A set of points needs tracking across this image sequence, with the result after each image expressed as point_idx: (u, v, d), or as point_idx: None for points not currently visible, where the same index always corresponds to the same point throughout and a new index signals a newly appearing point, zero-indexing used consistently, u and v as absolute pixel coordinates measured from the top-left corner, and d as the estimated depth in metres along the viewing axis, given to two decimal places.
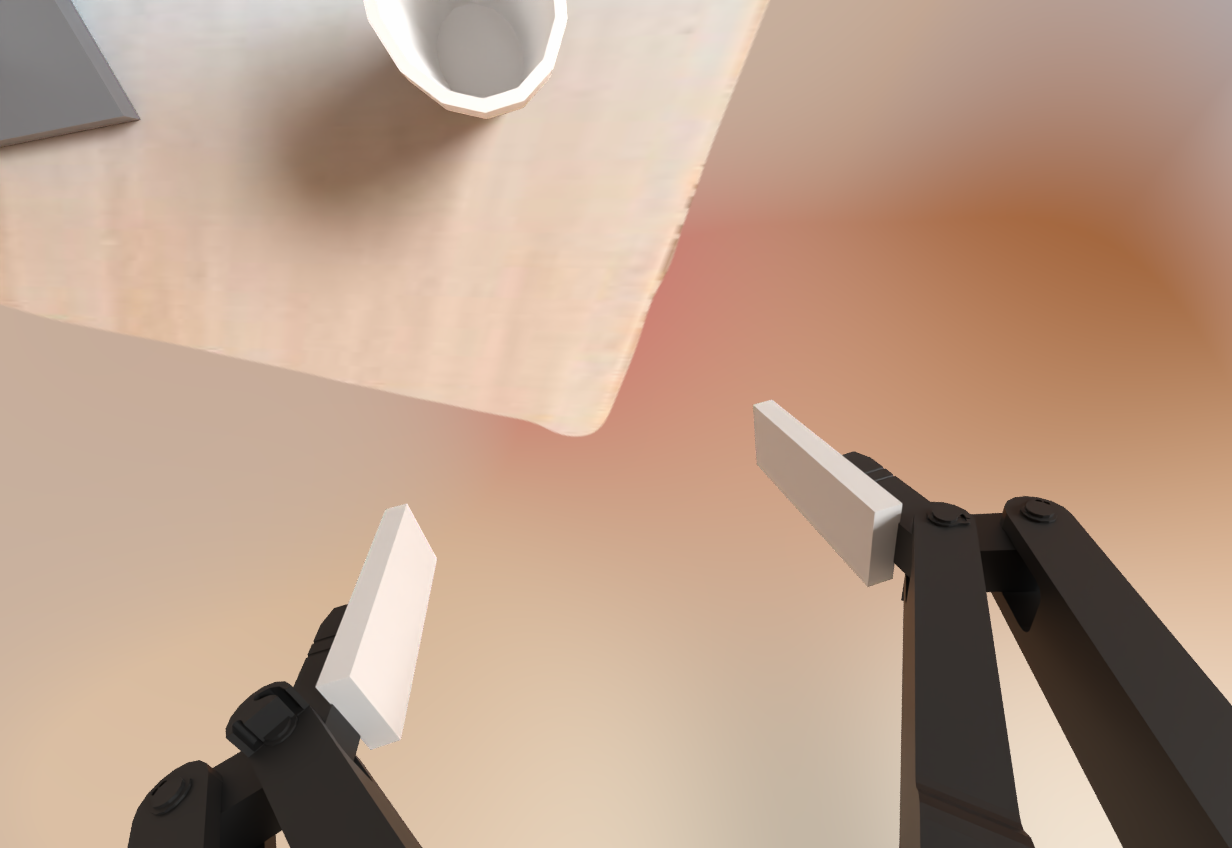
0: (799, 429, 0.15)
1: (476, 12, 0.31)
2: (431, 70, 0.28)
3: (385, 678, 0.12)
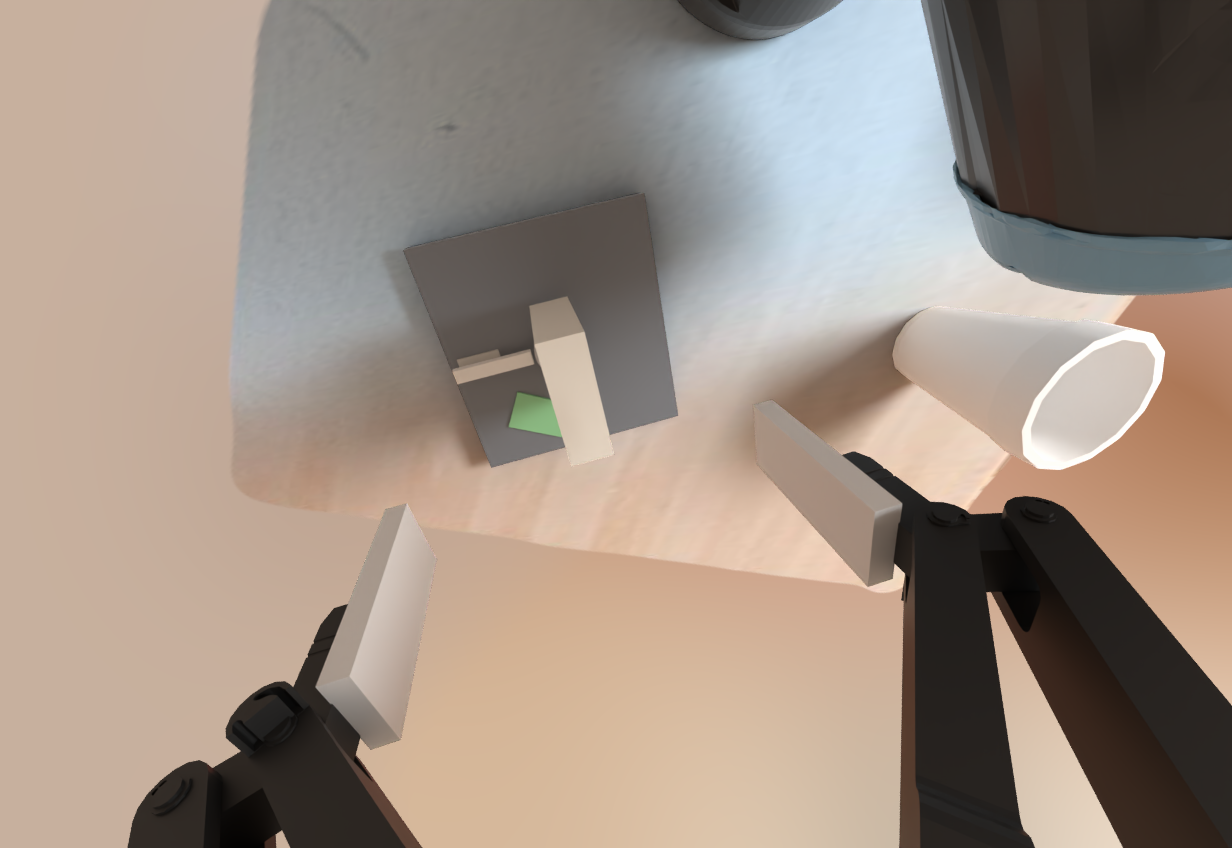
0: (799, 429, 0.15)
1: None
2: None
3: (385, 678, 0.12)
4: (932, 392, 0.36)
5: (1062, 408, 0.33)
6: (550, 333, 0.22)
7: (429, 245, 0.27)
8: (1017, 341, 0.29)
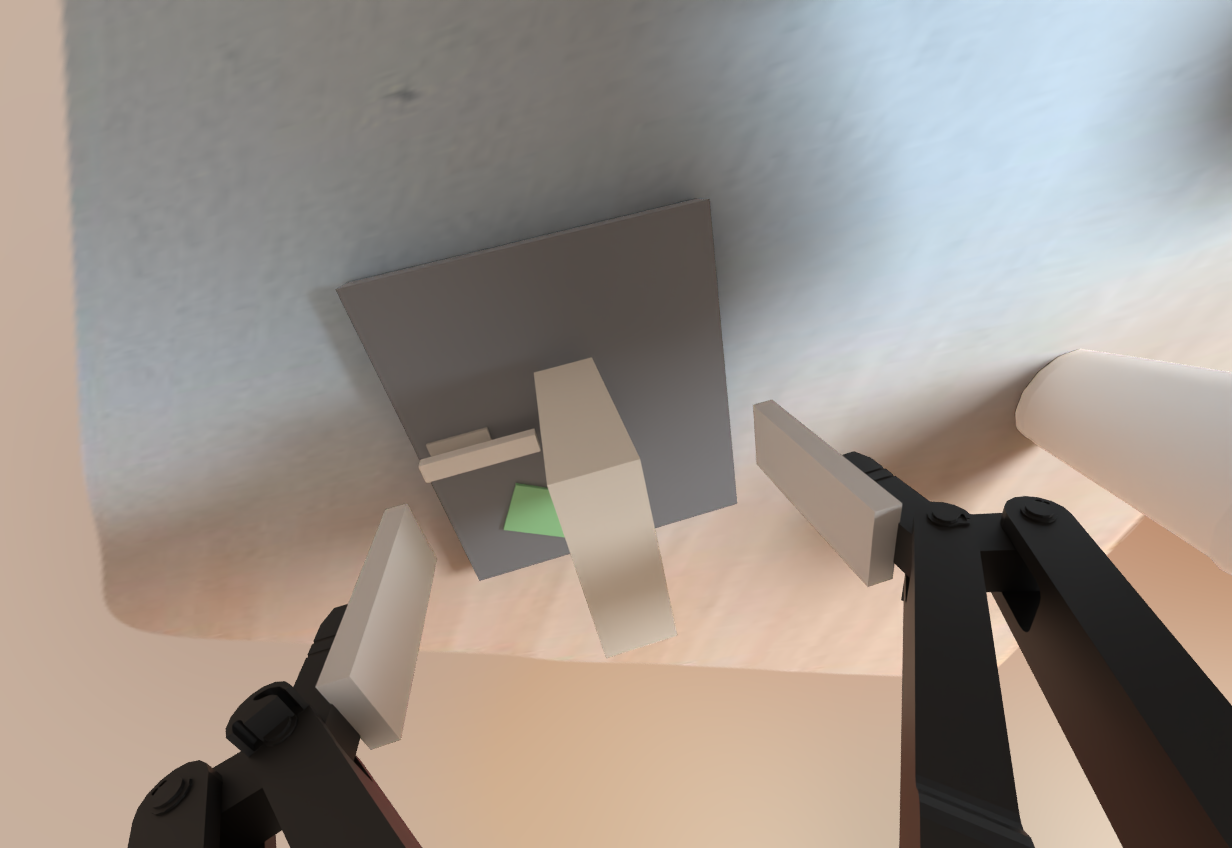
0: (799, 429, 0.15)
1: None
2: None
3: (385, 678, 0.12)
4: (1087, 471, 0.26)
5: None
6: (574, 452, 0.12)
7: (377, 281, 0.17)
8: None
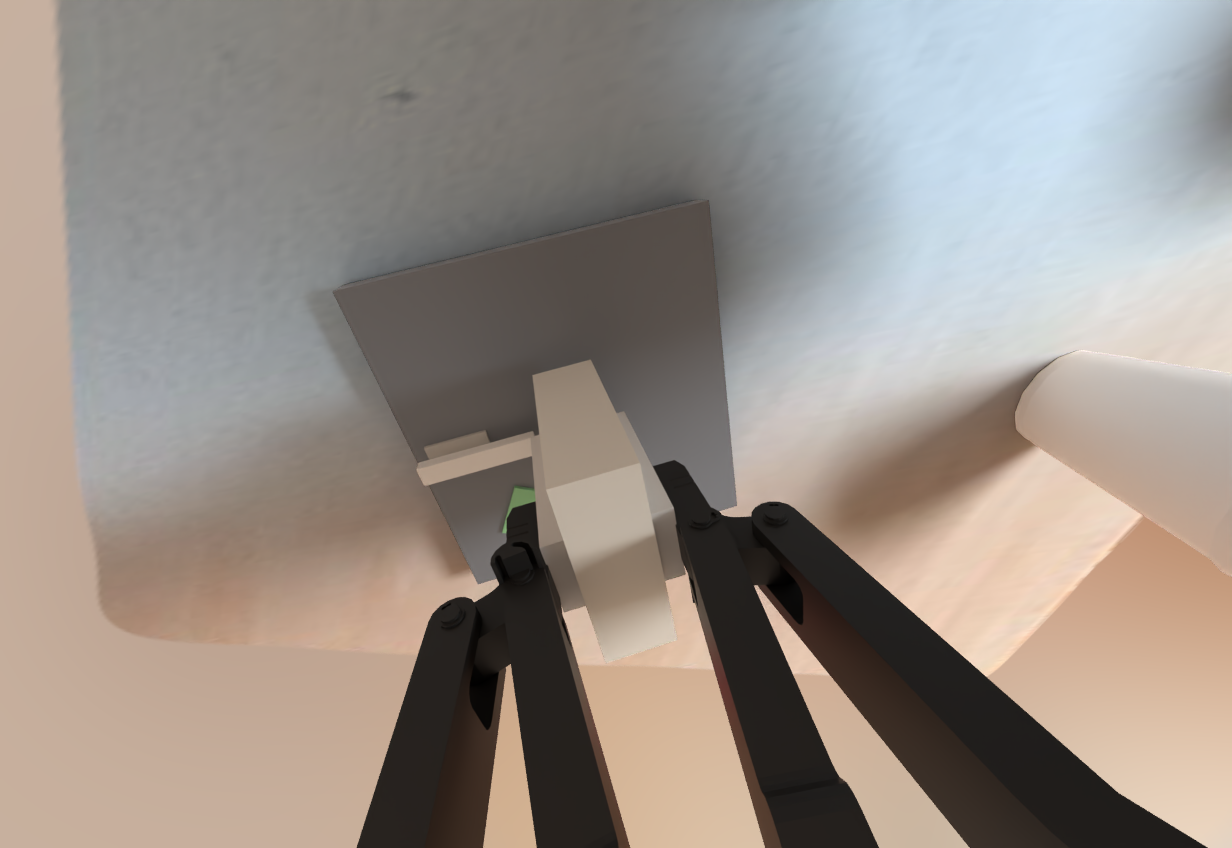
0: (631, 439, 0.17)
1: None
2: None
3: None
4: (1087, 472, 0.26)
5: None
6: (574, 456, 0.12)
7: (374, 283, 0.17)
8: None
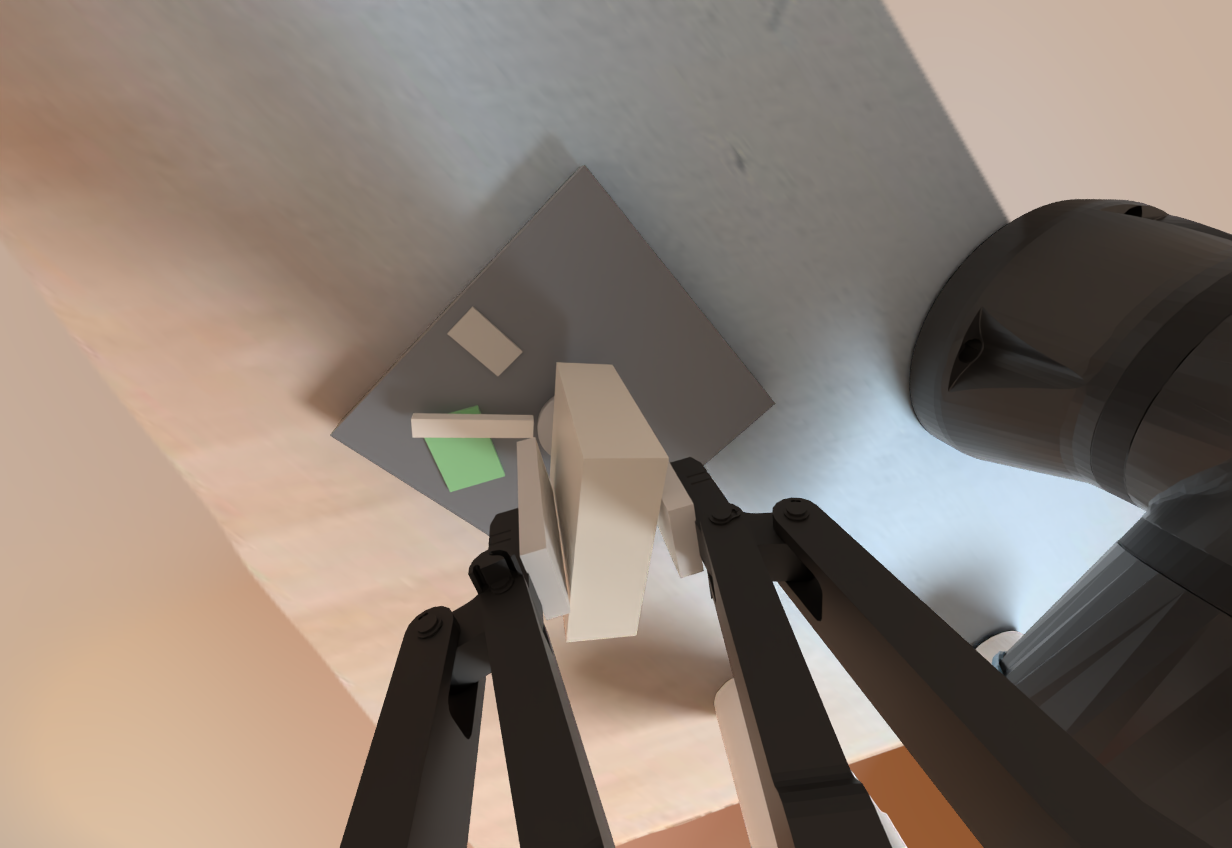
0: None
1: None
2: None
3: (556, 562, 0.14)
4: (736, 753, 0.34)
5: None
6: (606, 439, 0.13)
7: (609, 199, 0.19)
8: None
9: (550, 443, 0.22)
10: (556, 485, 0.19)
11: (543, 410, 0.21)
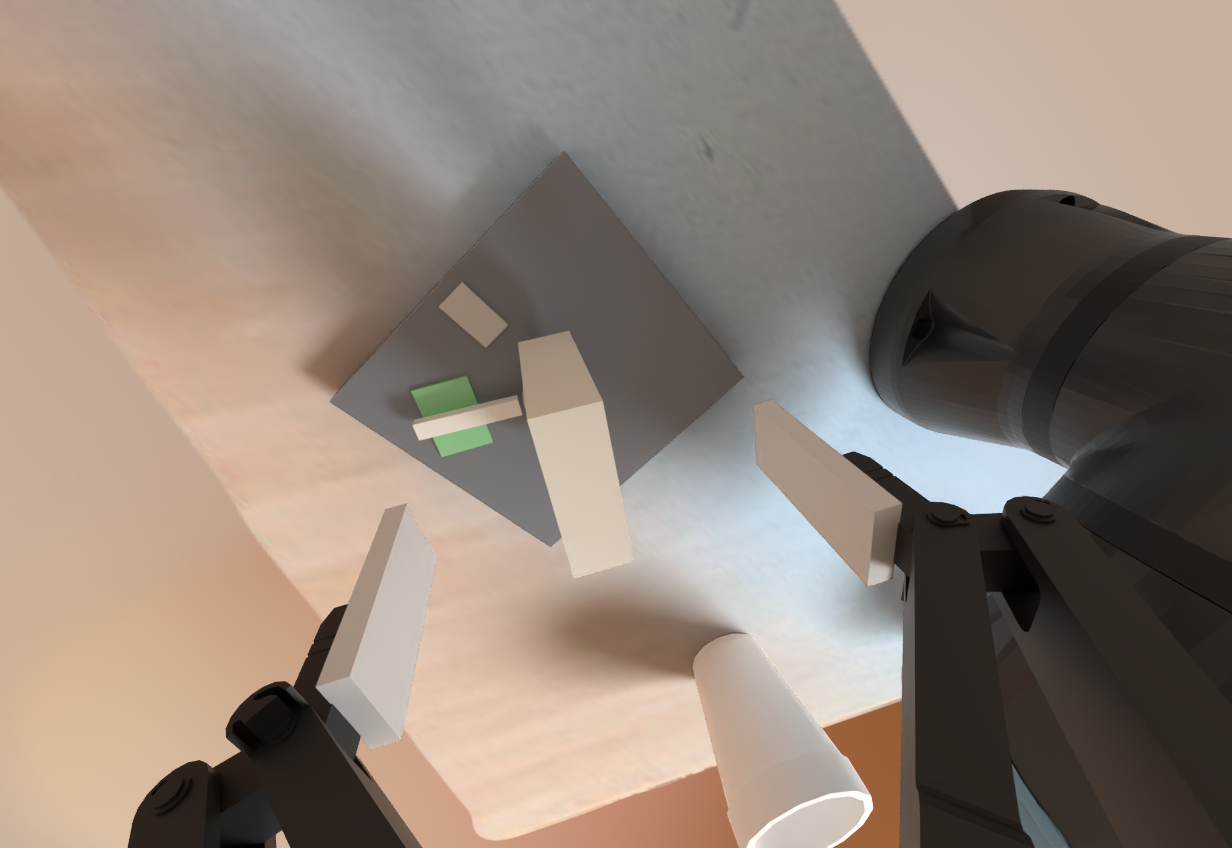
0: (799, 429, 0.15)
1: None
2: None
3: (385, 678, 0.12)
4: (711, 709, 0.36)
5: None
6: (550, 398, 0.15)
7: (587, 183, 0.20)
8: (806, 735, 0.32)
9: None
10: None
11: None
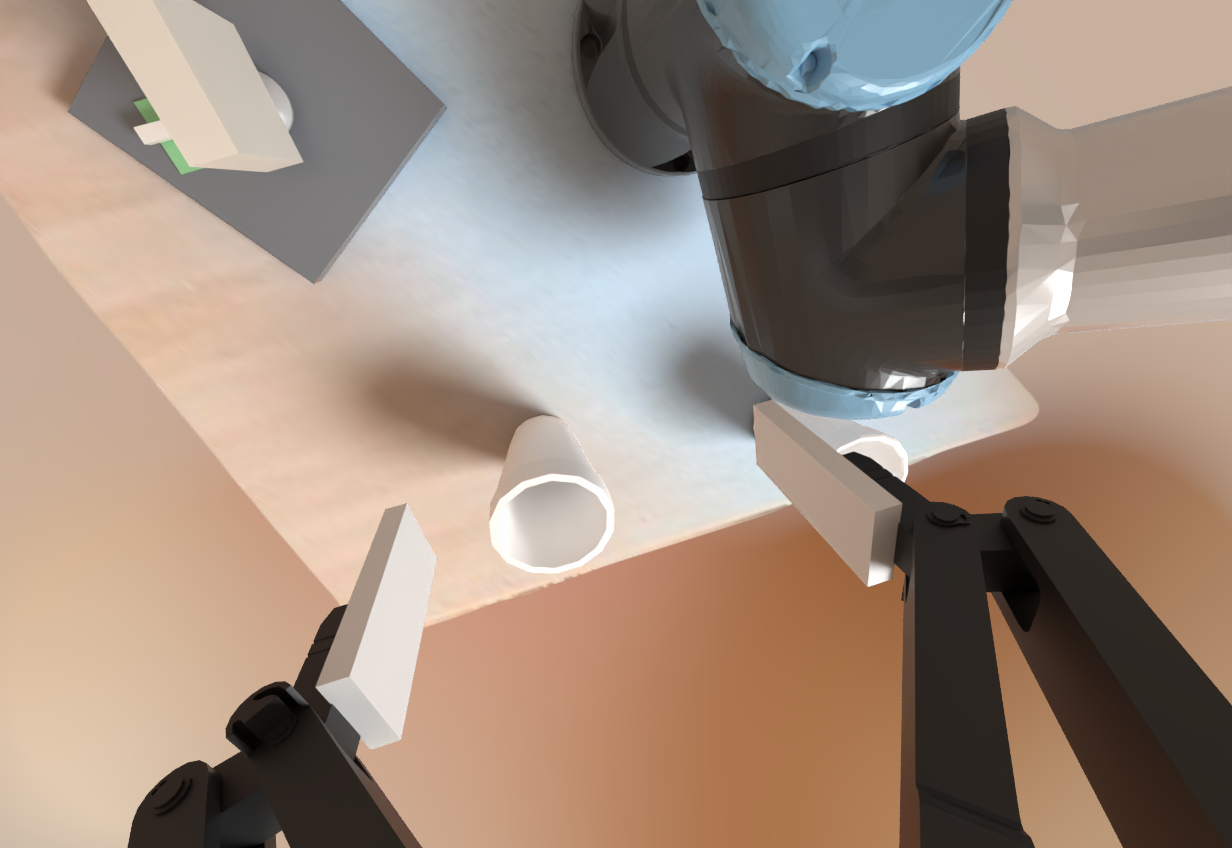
0: (799, 429, 0.15)
1: None
2: None
3: (385, 678, 0.12)
4: (505, 462, 0.41)
5: (554, 536, 0.39)
6: None
7: None
8: (558, 453, 0.36)
9: None
10: None
11: None
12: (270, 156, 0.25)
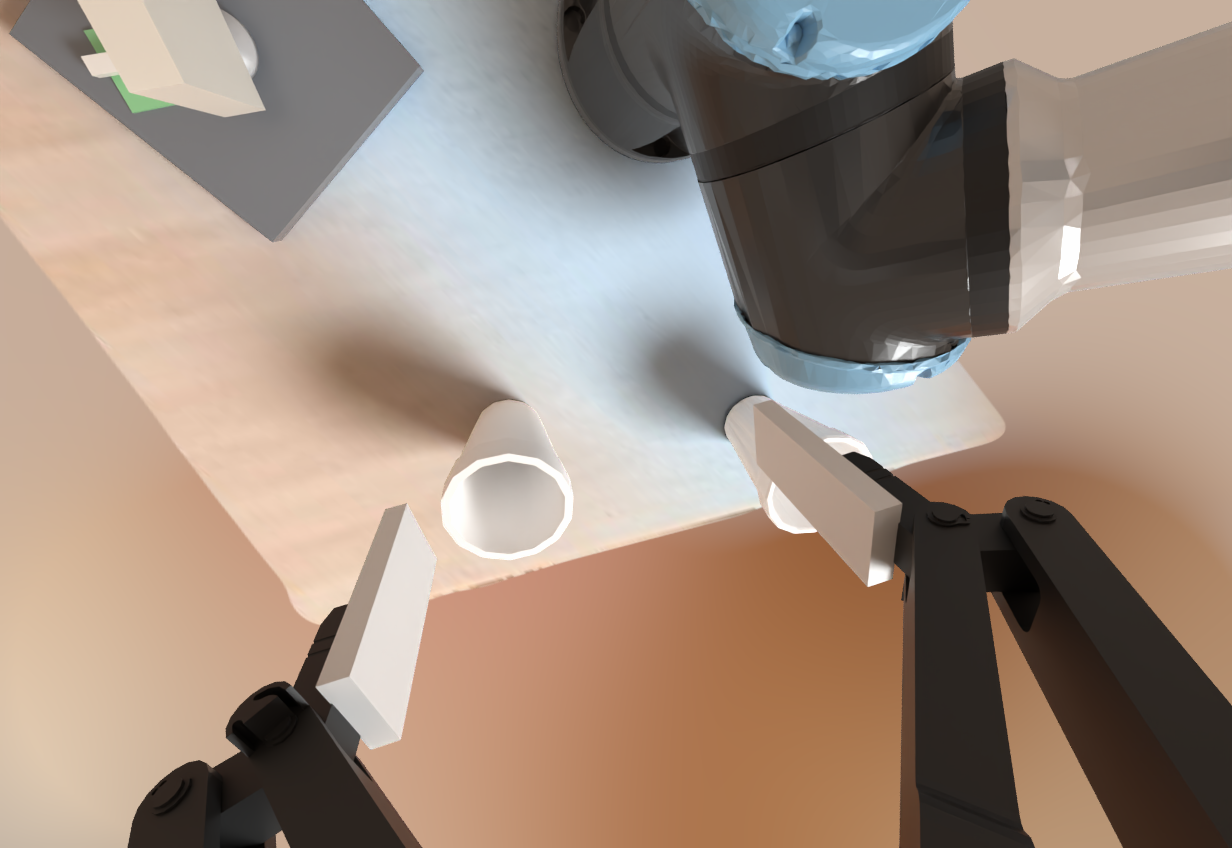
0: (799, 429, 0.15)
1: None
2: None
3: (385, 678, 0.12)
4: None
5: (511, 522, 0.38)
6: None
7: None
8: (520, 435, 0.35)
9: None
10: None
11: None
12: (224, 95, 0.24)
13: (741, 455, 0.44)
